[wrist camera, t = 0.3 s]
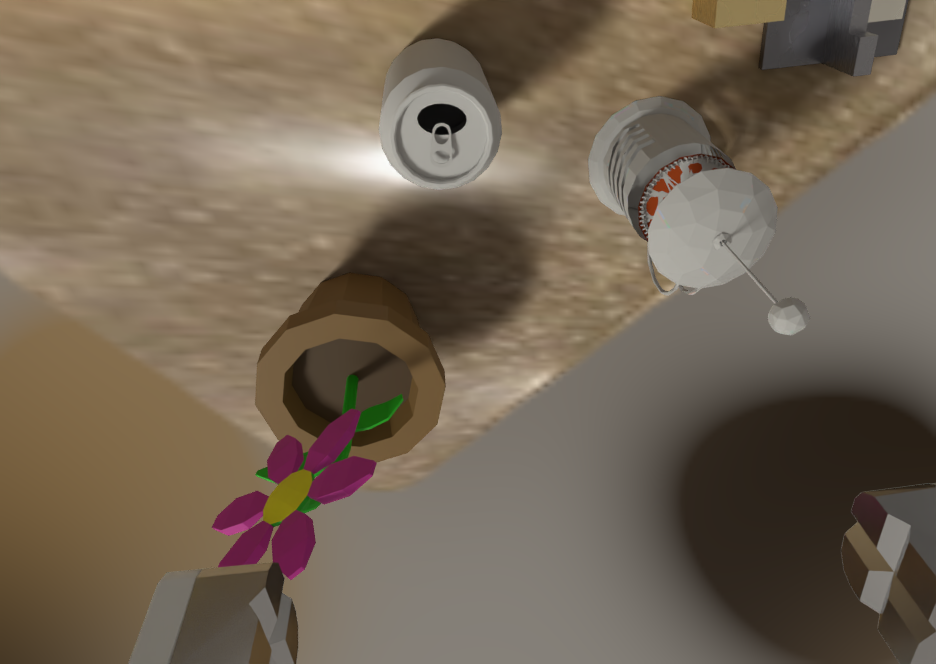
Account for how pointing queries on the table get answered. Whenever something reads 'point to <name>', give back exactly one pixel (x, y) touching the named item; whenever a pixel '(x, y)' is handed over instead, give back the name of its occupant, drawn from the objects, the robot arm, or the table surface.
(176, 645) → the robot arm
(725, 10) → the clip
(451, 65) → the can
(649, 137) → the french press
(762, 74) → the table surface
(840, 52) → the rail
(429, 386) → the flowerpot
